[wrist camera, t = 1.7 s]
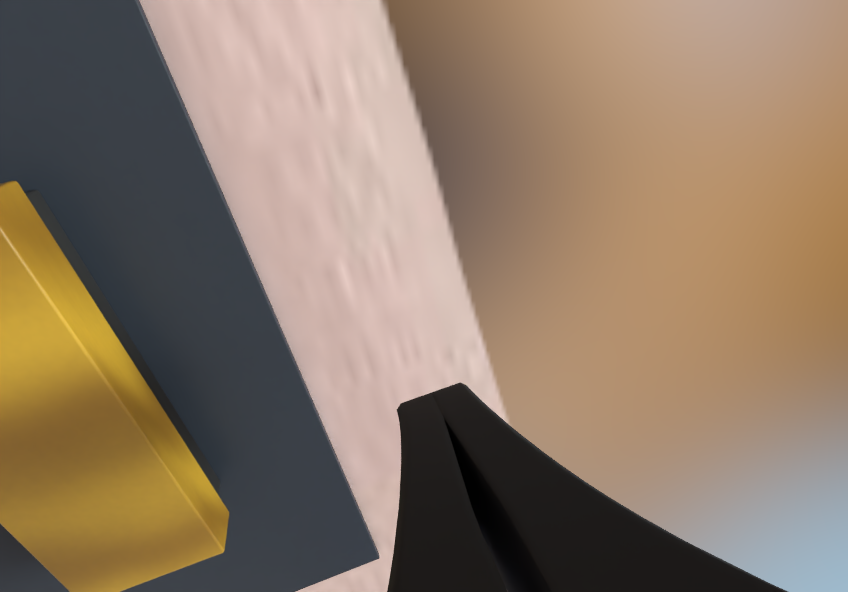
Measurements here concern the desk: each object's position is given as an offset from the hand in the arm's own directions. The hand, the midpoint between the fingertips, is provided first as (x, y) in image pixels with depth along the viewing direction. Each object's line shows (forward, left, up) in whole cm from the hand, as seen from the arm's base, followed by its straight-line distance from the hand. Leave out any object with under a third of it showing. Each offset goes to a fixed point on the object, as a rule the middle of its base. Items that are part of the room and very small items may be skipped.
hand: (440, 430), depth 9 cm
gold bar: (0, +10, -7) cm, 12 cm away
